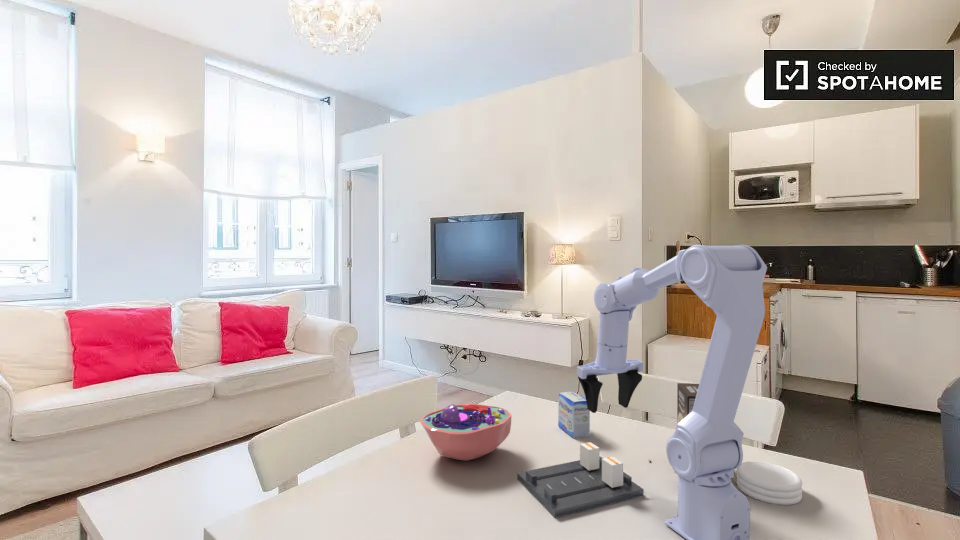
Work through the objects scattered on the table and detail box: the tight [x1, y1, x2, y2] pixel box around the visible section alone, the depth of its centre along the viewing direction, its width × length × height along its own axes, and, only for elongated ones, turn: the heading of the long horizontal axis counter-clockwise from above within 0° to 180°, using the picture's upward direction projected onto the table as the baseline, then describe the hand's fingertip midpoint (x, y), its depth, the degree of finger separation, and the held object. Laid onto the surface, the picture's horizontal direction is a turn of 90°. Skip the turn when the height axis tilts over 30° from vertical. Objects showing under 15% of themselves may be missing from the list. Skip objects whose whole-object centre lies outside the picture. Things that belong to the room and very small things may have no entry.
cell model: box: [419, 403, 512, 462], centre depth 98 cm, size 17×20×11 cm
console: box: [516, 455, 645, 519], centre depth 84 cm, size 14×18×2 cm
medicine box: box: [557, 391, 591, 439], centre depth 110 cm, size 8×4×9 cm, turn 17°
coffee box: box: [676, 382, 699, 425], centre depth 90 cm, size 9×6×16 cm
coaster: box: [736, 460, 803, 506], centre depth 82 cm, size 10×10×4 cm
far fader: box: [579, 441, 600, 471], centre depth 89 cm, size 3×2×4 cm
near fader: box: [602, 456, 624, 488], centre depth 82 cm, size 3×2×4 cm
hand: (607, 408), depth 92 cm, fingers open, 7 cm apart
